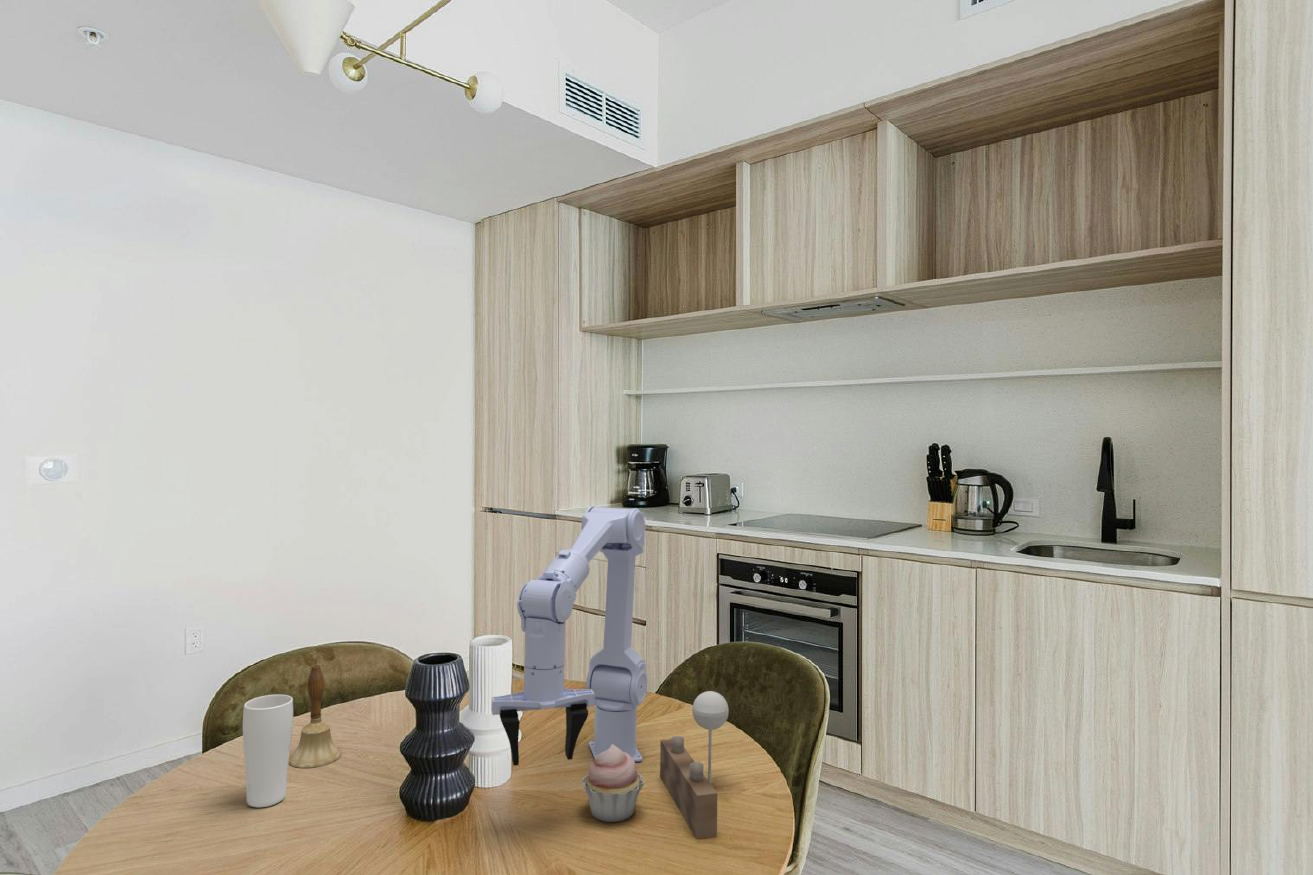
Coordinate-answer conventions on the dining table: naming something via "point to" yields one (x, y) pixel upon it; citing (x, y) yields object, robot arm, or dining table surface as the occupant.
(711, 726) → the lollipop
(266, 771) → the drinking glass
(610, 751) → the cupcake
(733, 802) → the dining table surface
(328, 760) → the hand bell
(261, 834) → the dining table surface
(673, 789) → the bar
